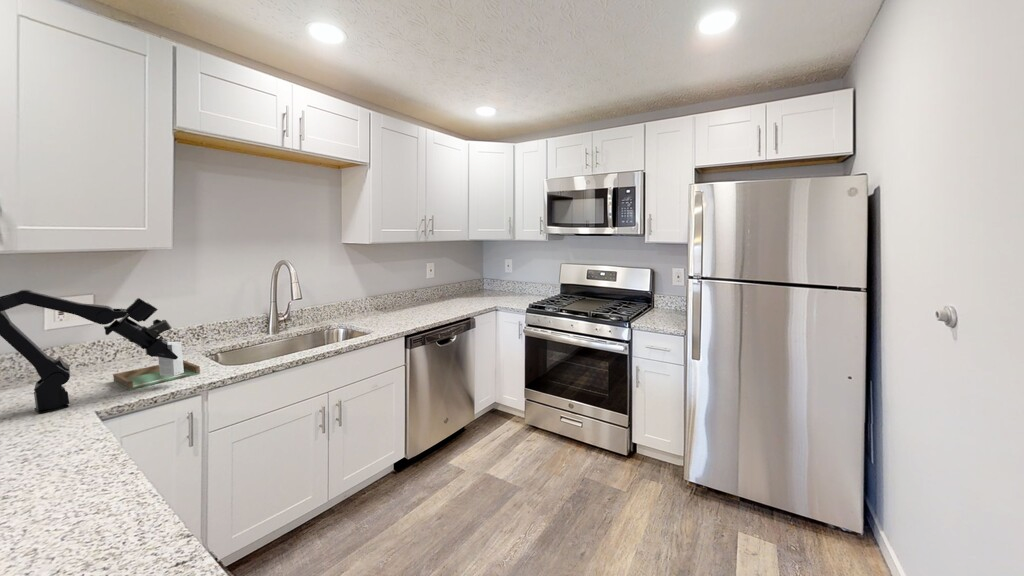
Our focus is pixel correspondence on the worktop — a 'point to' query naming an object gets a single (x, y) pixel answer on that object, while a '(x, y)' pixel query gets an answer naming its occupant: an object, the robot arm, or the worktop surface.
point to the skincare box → (172, 361)
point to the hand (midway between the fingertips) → (175, 356)
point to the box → (151, 376)
